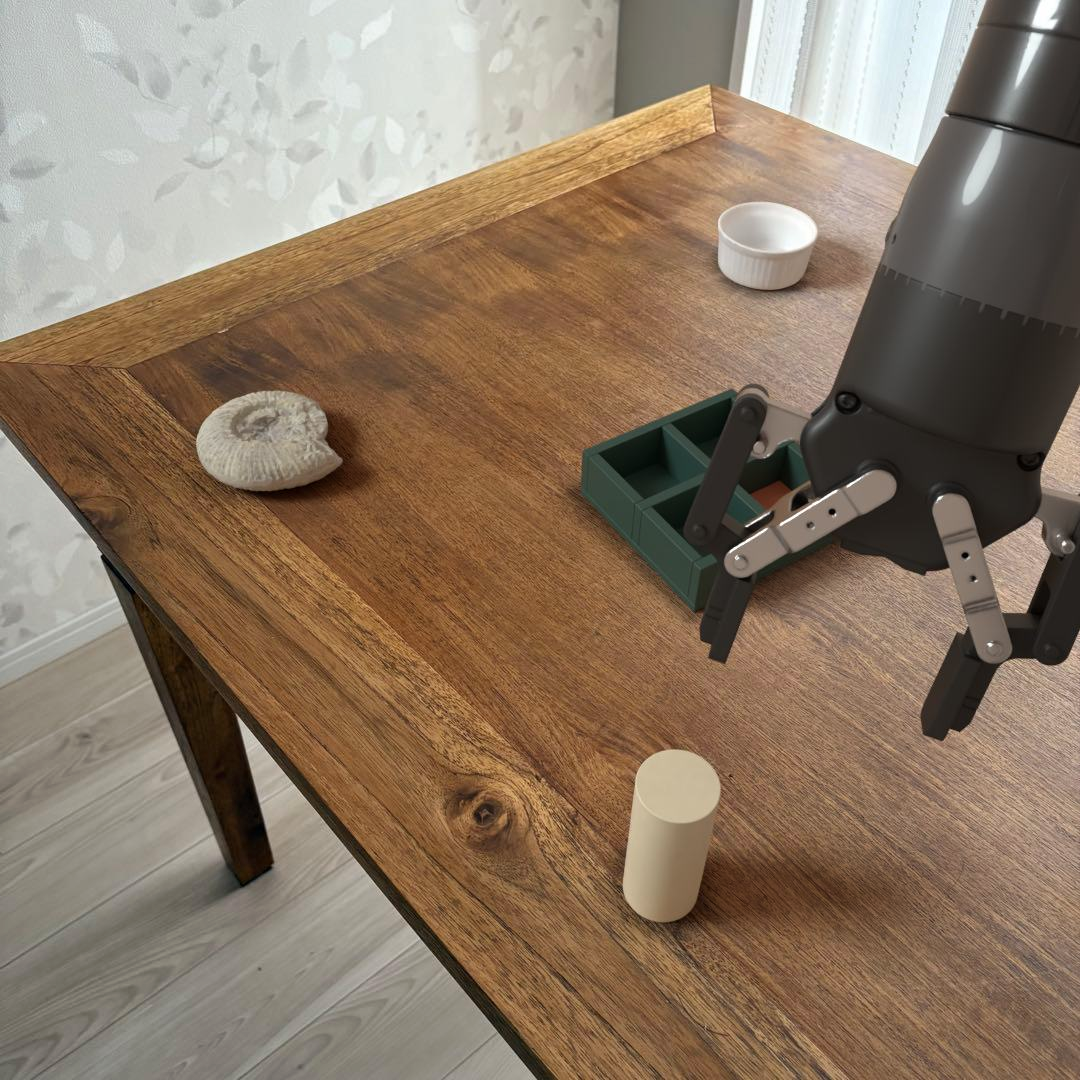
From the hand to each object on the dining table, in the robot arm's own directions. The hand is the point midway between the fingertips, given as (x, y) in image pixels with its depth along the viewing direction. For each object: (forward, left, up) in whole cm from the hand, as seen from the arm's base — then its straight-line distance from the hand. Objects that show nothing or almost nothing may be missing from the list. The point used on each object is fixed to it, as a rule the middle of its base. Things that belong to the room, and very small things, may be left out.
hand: (823, 690), depth 43 cm
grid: (+25, -17, -20) cm, 37 cm away
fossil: (+47, +7, -20) cm, 52 cm away
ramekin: (+48, -41, -20) cm, 67 cm away
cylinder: (+4, +3, -20) cm, 21 cm away
